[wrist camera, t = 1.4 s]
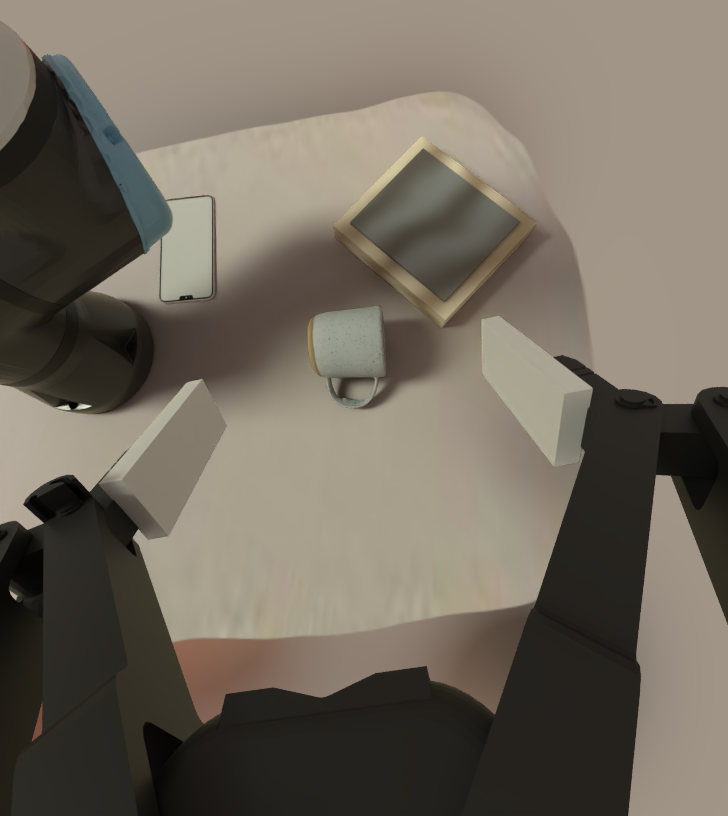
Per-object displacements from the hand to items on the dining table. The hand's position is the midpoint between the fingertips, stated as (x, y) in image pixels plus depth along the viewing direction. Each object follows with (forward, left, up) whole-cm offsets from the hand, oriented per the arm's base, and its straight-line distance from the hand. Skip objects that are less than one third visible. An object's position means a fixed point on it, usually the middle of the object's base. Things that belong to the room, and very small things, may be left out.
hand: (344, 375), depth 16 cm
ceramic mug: (-6, +4, -24) cm, 25 cm away
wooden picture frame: (-10, +22, -24) cm, 34 cm away
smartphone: (-33, 0, -25) cm, 41 cm away
